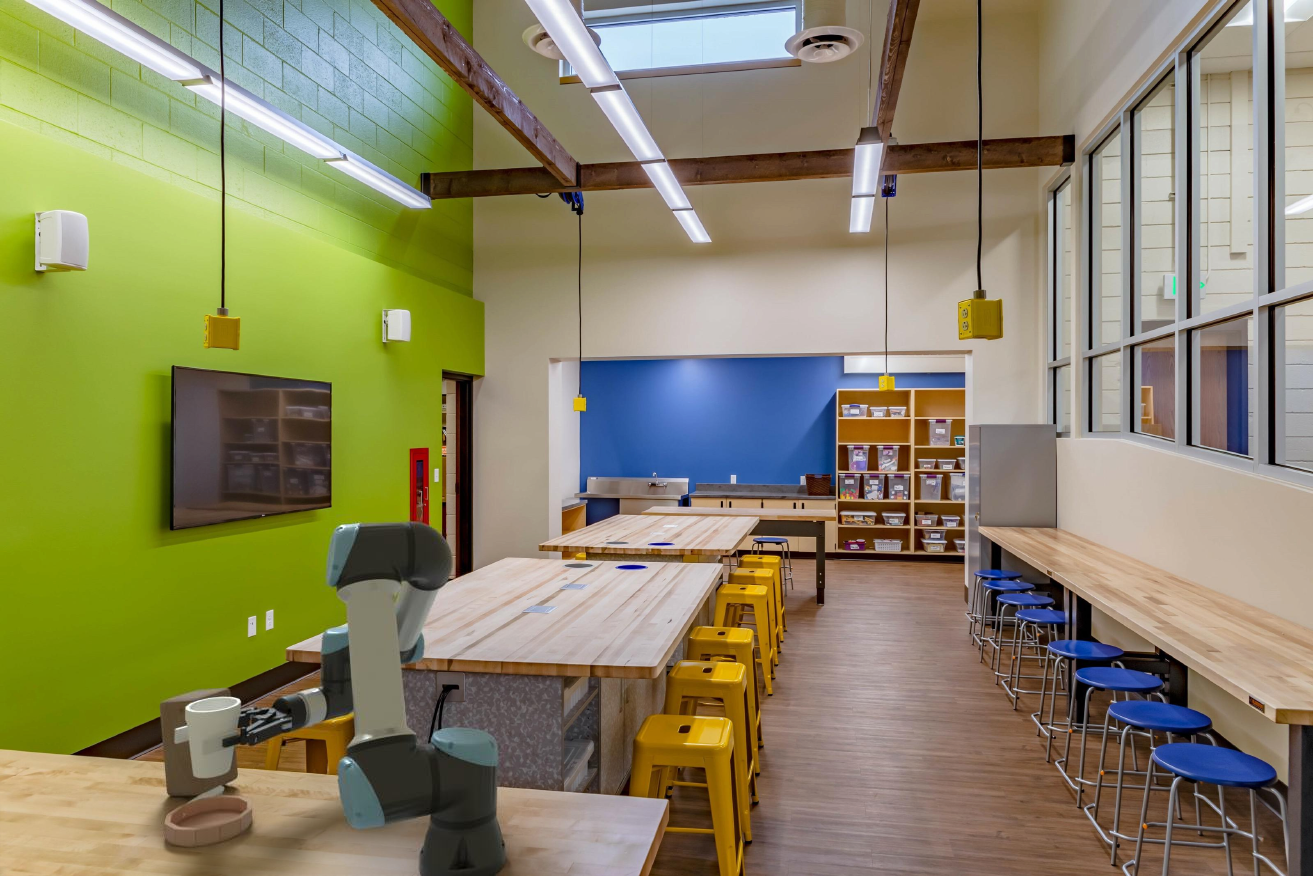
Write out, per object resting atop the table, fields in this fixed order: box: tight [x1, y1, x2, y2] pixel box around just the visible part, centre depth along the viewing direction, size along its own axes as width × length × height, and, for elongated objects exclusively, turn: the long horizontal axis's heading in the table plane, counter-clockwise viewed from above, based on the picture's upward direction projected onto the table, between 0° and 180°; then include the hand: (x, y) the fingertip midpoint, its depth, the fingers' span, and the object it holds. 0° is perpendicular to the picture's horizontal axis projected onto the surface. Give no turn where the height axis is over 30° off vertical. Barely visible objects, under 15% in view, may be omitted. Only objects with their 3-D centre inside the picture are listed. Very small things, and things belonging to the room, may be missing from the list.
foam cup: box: [185, 696, 242, 778], centre depth 154 cm, size 10×9×13 cm
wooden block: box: [159, 687, 239, 797], centre depth 171 cm, size 10×10×20 cm
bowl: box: [163, 794, 253, 848], centre depth 154 cm, size 15×15×3 cm
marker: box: [183, 785, 227, 818], centre depth 164 cm, size 3×2×16 cm
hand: (189, 742), depth 151 cm, fingers closed on foam cup, 9 cm apart
